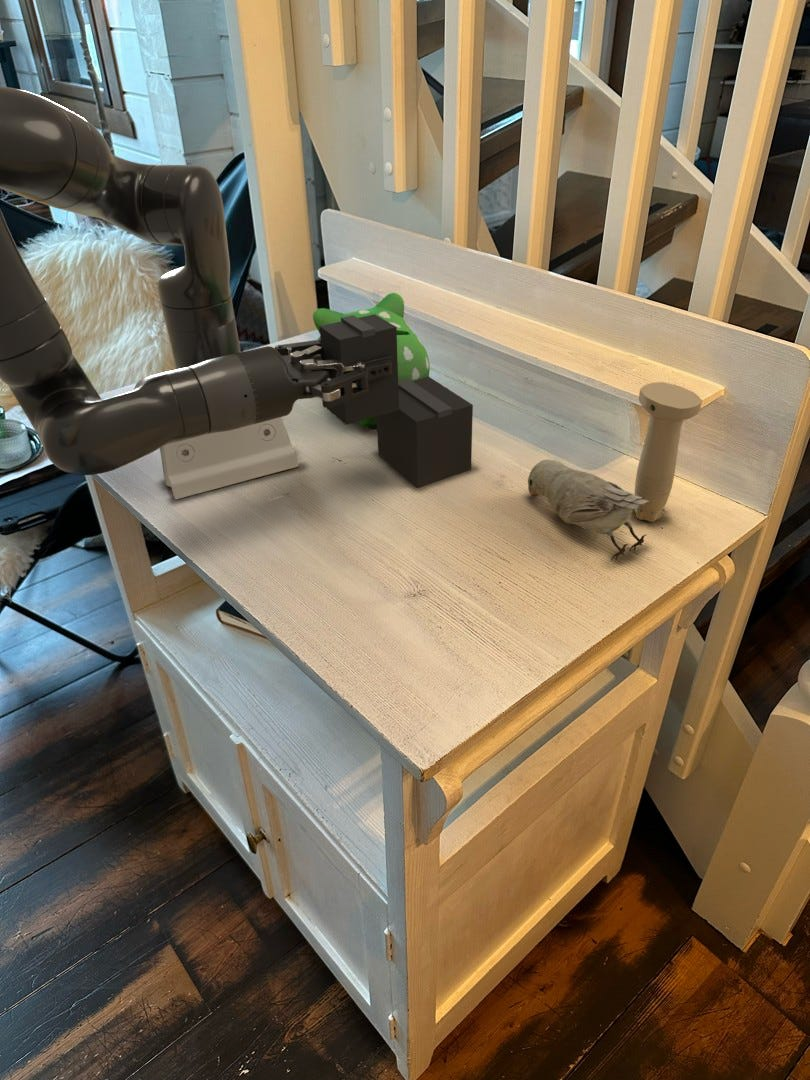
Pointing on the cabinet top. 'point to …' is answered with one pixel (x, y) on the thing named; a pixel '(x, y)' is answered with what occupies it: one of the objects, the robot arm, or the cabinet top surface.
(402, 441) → the black taped box
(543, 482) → the decorative bird
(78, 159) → the robot arm
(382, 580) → the cabinet top surface
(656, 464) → the handle
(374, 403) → the black box
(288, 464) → the white wall mount bracket
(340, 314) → the piggy bank
